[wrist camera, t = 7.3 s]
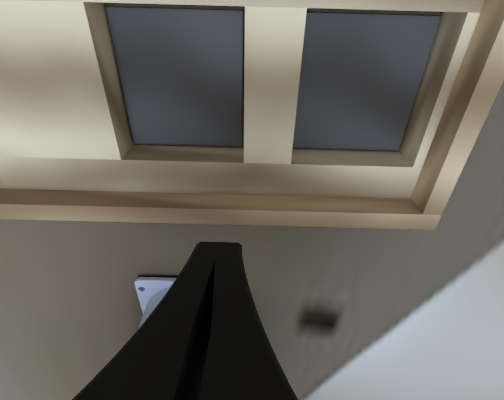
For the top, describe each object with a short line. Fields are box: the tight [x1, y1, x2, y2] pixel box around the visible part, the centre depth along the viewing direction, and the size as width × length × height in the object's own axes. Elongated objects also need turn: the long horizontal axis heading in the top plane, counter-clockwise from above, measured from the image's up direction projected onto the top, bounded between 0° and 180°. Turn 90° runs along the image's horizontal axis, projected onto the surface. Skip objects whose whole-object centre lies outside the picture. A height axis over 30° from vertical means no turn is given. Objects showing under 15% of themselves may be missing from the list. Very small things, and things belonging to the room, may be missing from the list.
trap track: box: [0, 0, 504, 230], centre depth 14 cm, size 13×32×4 cm, turn 89°
